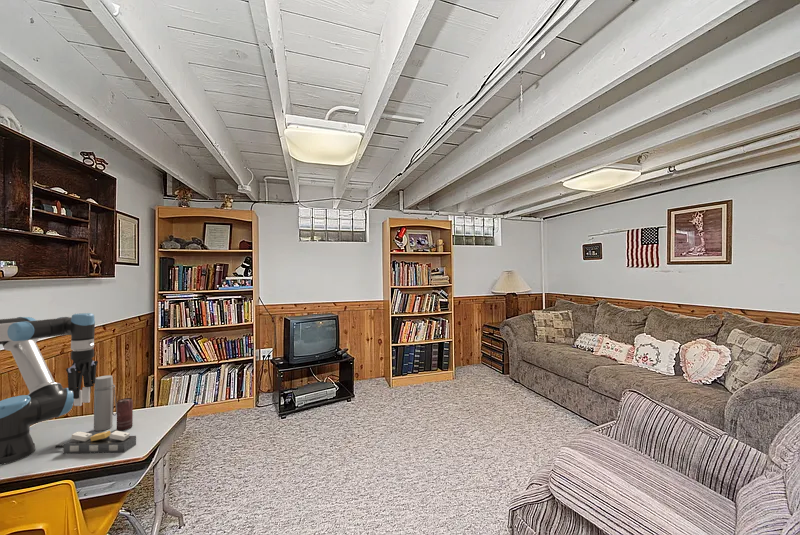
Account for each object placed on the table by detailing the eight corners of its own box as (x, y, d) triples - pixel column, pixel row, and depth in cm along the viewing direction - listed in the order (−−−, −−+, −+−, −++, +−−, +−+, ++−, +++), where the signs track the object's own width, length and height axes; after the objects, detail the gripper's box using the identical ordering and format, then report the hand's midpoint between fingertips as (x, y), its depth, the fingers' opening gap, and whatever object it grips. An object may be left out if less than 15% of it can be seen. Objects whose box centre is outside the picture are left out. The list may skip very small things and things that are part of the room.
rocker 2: (109, 438, 152) (110, 433, 152) (115, 434, 155) (116, 430, 155) (123, 440, 152) (124, 436, 152) (128, 437, 155) (129, 433, 155)
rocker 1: (70, 438, 151) (71, 434, 151) (77, 435, 155) (78, 431, 155) (85, 441, 151) (86, 437, 152) (91, 438, 155) (92, 433, 155)
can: (124, 431, 170) (124, 402, 171) (113, 430, 172) (113, 401, 172) (136, 426, 176) (136, 397, 177) (125, 425, 178) (125, 397, 178)
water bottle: (97, 433, 169) (97, 380, 169) (90, 429, 173) (91, 377, 173) (120, 426, 177) (120, 375, 177) (113, 422, 181) (114, 373, 181)
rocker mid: (91, 441, 152) (90, 437, 152) (97, 437, 155) (96, 433, 155) (105, 438, 152) (104, 433, 152) (111, 434, 155) (110, 430, 155)
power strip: (48, 454, 149) (48, 444, 149) (63, 446, 156) (63, 436, 156) (124, 452, 150) (124, 443, 150) (136, 444, 157) (136, 435, 157)
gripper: (75, 353, 146) (74, 411, 145) (106, 345, 162) (106, 397, 162) (56, 353, 145) (55, 411, 145) (89, 345, 162) (89, 397, 161)
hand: (82, 403), depth 153 cm, fingers open, 3 cm apart
